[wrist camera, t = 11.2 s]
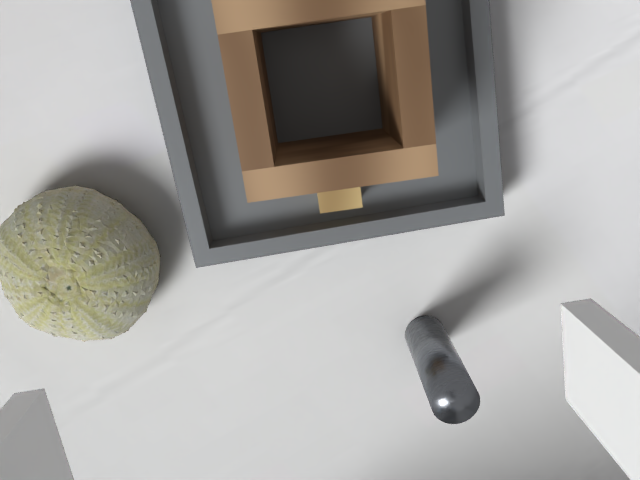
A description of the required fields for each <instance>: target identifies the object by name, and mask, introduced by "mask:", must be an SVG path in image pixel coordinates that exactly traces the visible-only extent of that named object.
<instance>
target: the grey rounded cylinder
mask: <svg viewBox="0 0 640 480" xmlns="http://www.w3.org/2000/svg"><path fill="white" fill-rule="evenodd" d="M405 339H406V342H407V344H408V347H409V350H410V352H411V355H412V358H413V360H414V363H415V366H416V368H417V371H418V374H419V376H420V379H421V382H422V384H423V387H424V390H425V392H426V395H427V398H428V400H429V403H430V406H431V408H432V411H433V413H434V415H435V416H436V417H437V418H438V419H439V420H441V421H443V422H445V423H449V424H458V423H462V422H465V421H467V420H468V419H470V418H471V417H472V416H473V415H474V414H475V413H476V412H477V410H478V408H479V405H480V396H479V393H478V391H477V389H476V387H475V386H474V384H473V382H472V380H471V378H470V376H469V374H468V372H467V370H466V368H465V367H464V365H463V363H462V361H461V359H460V357H459V355H458V353H457V351H456V349H455V348H454V346H453V344H452V342H451V340H450V338H449V336H448V334H447V332H446V330H445V329H444V327H443V325H442V323H441V322H440V321H439V320H438V319H436V318H434V317H431V316H421V317H418V318H416V319H414V320H413V321H411V322H410V324H409V325H408V326H407V328H406V331H405Z"/></svg>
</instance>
